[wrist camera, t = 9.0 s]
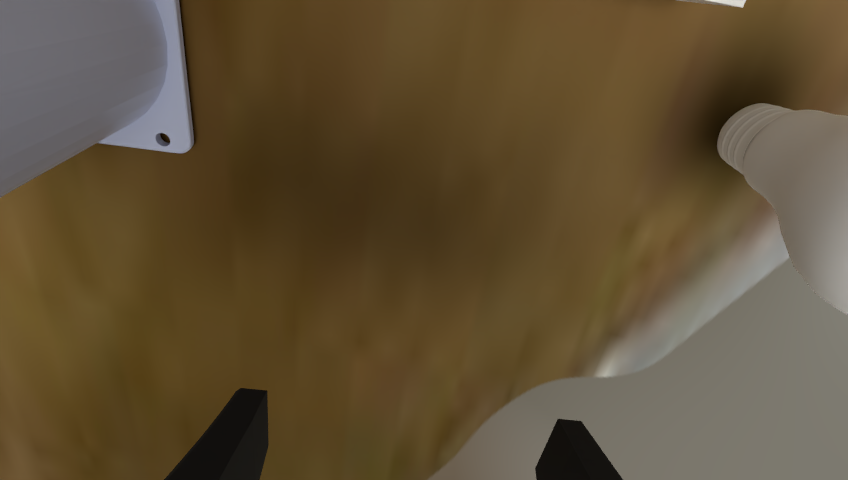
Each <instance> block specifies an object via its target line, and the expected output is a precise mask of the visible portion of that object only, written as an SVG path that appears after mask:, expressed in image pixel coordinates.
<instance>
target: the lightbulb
mask: <svg viewBox="0 0 848 480" xmlns="http://www.w3.org/2000/svg"><path fill="white" fill-rule="evenodd" d="M717 149H718V153H719V155H720V157H721V158H722V159H723V160H724V161H725V162H726V163H727V164H729V165H730V166H732V167H733V168H734V169H736V170H737V171H739V172H740V173H741V174H743V175H744V177H745V180H746V181H747V183H748V184H749V185H750V186H751V188H753V189H754V190H755V191H757V192H758V193H759V194H761V195H762V196H763V197H764V198H765V199H766V200H767V201H768V202H769V203H770V204H771V205H772V206H773V208H774V210H775V212H776V214H777V216H778V219H779V224H780V229H781V233H782V236H783V239H784V242H785V245H786V247H787V250H788V253H789V256H790V258H791V261H792V263H793V266H794V267H795V269H796V270H797V271H798V273H799V274H800V275H801V276H802V278H803V279H804V280H805V282H806V283H807V284H808V285H809V286H810V287H811V289H812V290H813V291H814V292H815V293H816V294H817V295H819V296H820V297H821V298H822V299H824V300H825V301H826V302H827V303H829V304H830V305H832V306H833V307H835V308H836V309H838V310H840V311H841V312H843V313H845V314H847V315H848V116H846V115H835V114H831V113H827V112H823V111H819V110H811V109H809V110H797V111H794V110H791V109H788V108H783V107H781V106H775V105H771V104H766V103H758V104H753V105H749V106H747V107H745V108H743V109H741V110H740V111H738V112H736V113H735V114H734V115H733V116H731V117H730V118H729V119H728V121H727V122H726V123H725V124H724V126H723V127H722V129H721V131H720V133H719V137H718V141H717Z"/></svg>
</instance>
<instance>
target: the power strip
mask: <svg viewBox="0 0 848 480" xmlns="http://www.w3.org/2000/svg"><path fill="white" fill-rule="evenodd" d="M677 1H686V2H696V3H705V4H714V5H724V6H733V7H743V6H744V4H745V1H746V0H677Z"/></svg>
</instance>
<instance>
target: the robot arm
mask: <svg viewBox="0 0 848 480" xmlns="http://www.w3.org/2000/svg"><path fill="white" fill-rule="evenodd" d="M160 133H164V134H166V135H167V136H168V137H169V139H170V143H167V142H165V141H163V140H162V138H161V136H160ZM96 143H101V144H109V145H117V146H124V147H132V148H140V149H148V150H156V151H163V152H171V153H185V152H187V151H189V150H190V149H191V148H192V146H193V145H194V135H193V126H192V117H191V107H190V98H189V89H188V79H187V70H186V61H185V51H184V42H183V33H182V23H181V14H180V5H179V0H0V197H2V196H4V195H5V194H7V193H9V192H11V191H12V190H14V189H16V188H18V187H20V186H21V185H23V184H25V183H27V182H28V181H30V180H32V179H34V178H36V177H37V176H39V175H41V174H43V173H44V172H46V171H48V170H50V169H51V168H53V167H55V166H57V165H59V164H60V163H62V162H64V161H66V160H67V159H69V158H71V157H73V156H75V155H76V154H78V153H80V152H82V151H83V150H85V149H87V148H89V147H91V146H92V145H94V144H96ZM267 449H268V407H267V391H265V390H255V389H245V388H240V389H239V390H237V391H236V392H235V394H234V395H233V396H232V398H231V399H230V401H229V402H228V403H227V405H226V406H225V407H224V409H223V410H222V411H221V413H220V414H219V415H218V416H217V418H216V419H215V420H214V422H213V423H212V424H211V425H210V427H209V428H208V429H207V430H206V431H205V433H204V434H203V435H202V436H201V438H200V439H199V440H198V441H197V442H196V444H195V445H194V446H193V447H192V448H191V449H190V451H189V452H188V453H187V454H186V455H185V456H184V458H183V459H182V460H181V461H180V462H179V463H178V465H177V466H176V467H175V468H174V469H173V470H172V471H171V473H170V474H169V475H168V476H167V477H166V478H165V479H164V480H259V479H260V475H261V472H262V468H263V464H264V460H265V456H266V453H267ZM535 469H536V478H537V480H623V479H622V478H621V476H620V475H619V474H618V472H617V471H616V470H615V468H614V467H613V465H612V464H611V462H610V461H609V460H608V458H607V457H606V455H605V454H604V453H603V452H602V450H601V448H600V447H599V446H598V444H597V443H596V441H595V440H594V438H593V437H592V436H591V435H590V433H589V431H588V430H587V429H586V427H585V426H584V424H583V423H582V422H581V421H574V420H563V419H558V420H557V422H556V424H555V426H554V429H553V431H552V433H551V435H550V437H549V440H548V442H547V444H546V446H545V448H544V451H543V453H542V455H541V457H540V459H539V462H538V464H537V466H536V468H535Z"/></svg>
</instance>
